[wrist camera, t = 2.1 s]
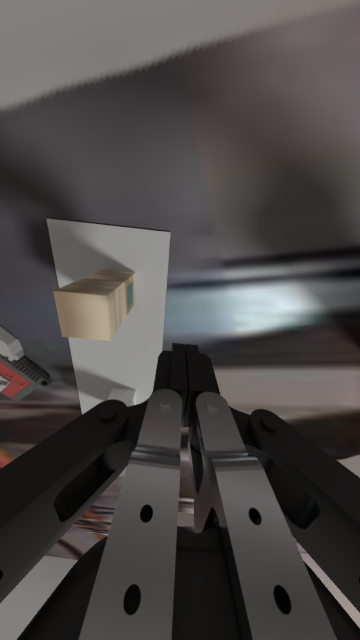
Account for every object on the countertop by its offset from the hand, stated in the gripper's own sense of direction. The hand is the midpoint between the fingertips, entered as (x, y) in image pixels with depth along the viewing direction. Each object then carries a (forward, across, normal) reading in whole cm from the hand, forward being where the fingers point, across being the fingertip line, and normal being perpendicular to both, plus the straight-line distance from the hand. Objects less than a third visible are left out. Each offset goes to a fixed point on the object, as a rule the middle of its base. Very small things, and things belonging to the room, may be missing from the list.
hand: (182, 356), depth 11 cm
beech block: (+14, +8, 0) cm, 16 cm away
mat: (+15, +9, +10) cm, 20 cm away
